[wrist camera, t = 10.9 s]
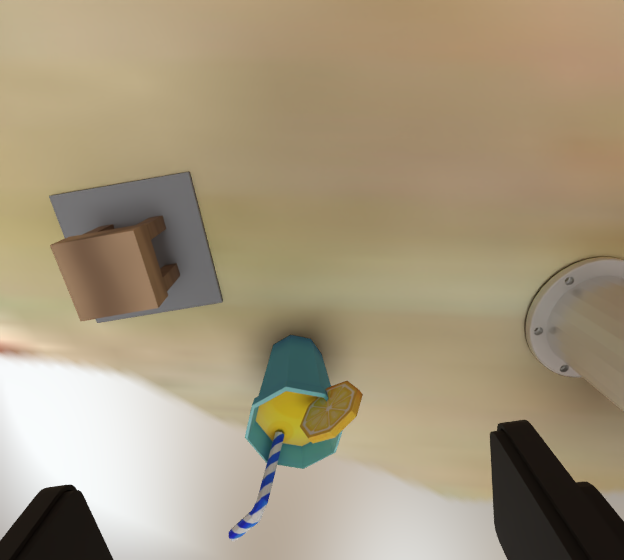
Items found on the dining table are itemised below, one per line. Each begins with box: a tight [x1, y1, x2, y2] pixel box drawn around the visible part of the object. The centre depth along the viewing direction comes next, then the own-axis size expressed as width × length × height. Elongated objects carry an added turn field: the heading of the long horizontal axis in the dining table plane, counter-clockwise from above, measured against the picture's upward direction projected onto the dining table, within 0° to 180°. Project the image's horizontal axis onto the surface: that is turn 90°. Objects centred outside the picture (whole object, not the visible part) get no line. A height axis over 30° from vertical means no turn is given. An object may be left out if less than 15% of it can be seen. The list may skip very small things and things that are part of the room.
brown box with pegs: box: [50, 216, 180, 321], centre depth 33 cm, size 6×6×7 cm
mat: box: [49, 172, 223, 323], centre depth 36 cm, size 12×12×1 cm
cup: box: [229, 335, 363, 541], centre depth 34 cm, size 14×8×15 cm, turn 144°
